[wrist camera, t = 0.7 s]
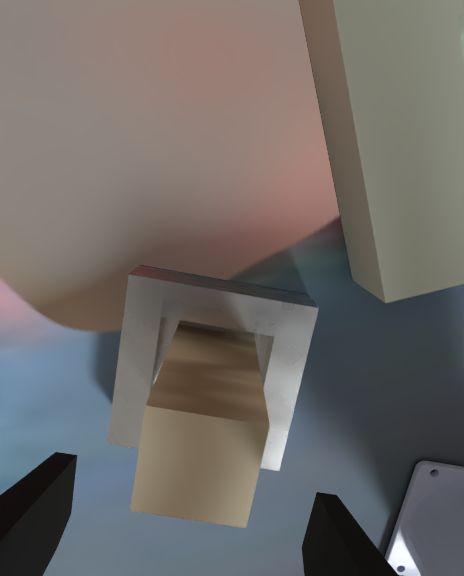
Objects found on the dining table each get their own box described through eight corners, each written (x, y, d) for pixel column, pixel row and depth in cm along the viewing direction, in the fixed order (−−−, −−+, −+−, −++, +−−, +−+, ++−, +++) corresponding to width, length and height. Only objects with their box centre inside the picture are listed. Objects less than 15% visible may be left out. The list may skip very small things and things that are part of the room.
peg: (254, 337, 20) (270, 425, 12) (240, 405, 21) (245, 528, 13) (178, 324, 20) (145, 405, 12) (167, 393, 21) (130, 510, 13)
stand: (308, 294, 21) (318, 308, 18) (273, 441, 23) (279, 470, 20) (140, 265, 20) (128, 274, 18) (120, 416, 22) (107, 443, 20)
